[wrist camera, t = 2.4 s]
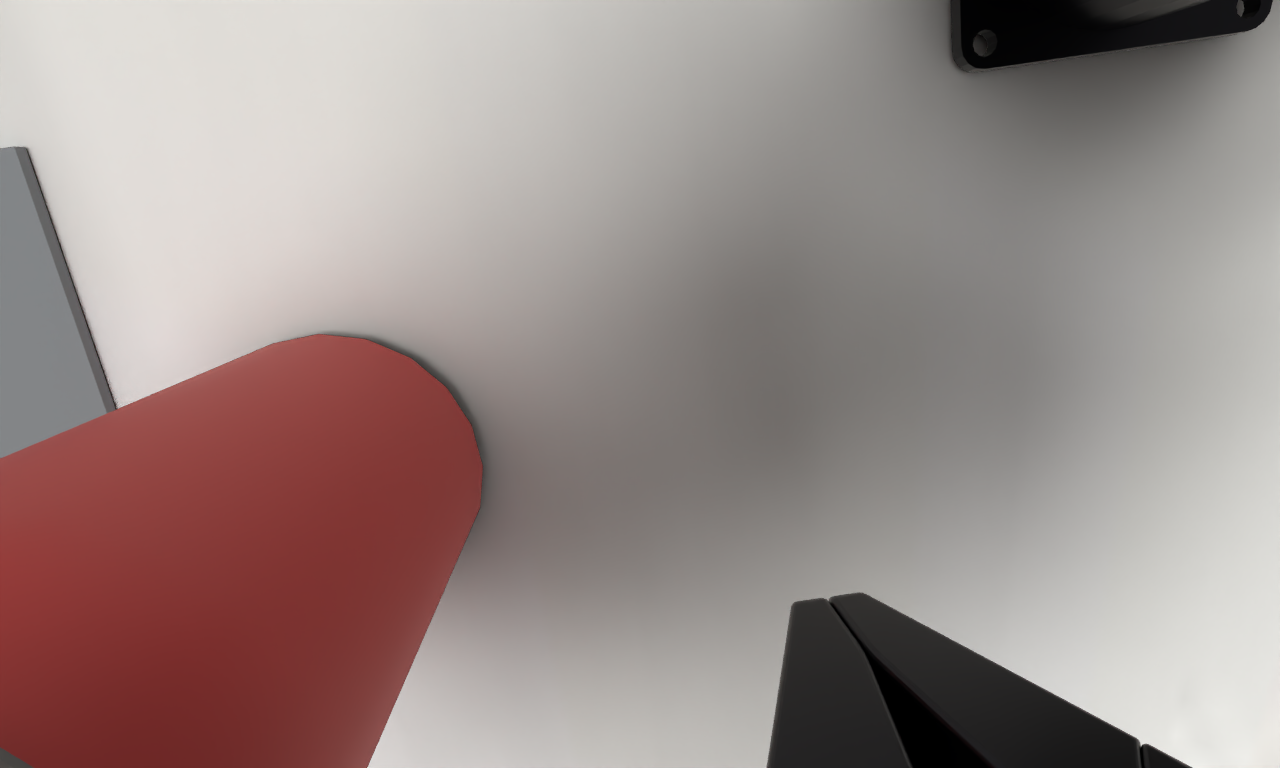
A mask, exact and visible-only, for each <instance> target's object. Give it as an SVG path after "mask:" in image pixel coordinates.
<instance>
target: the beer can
mask: <svg viewBox="0 0 1280 768" xmlns="http://www.w3.org/2000/svg"><path fill="white" fill-rule="evenodd" d="M482 473H483V465H482V461H481V458H480V454H479V450H478V447H477V443H476V439H475V436H474V432H473V428H472V425H471V424H470V422H469V421H468V419H467V418H466V416H465V415H464V413H463V412H462V410H461V409H460V407H459V405H458V404H457V402H456V401H455V399H454V398H453V396H452V395H451V393H450V392H449V390H448V389H447V388H446V387H445V386H444V385H443V384H442V383H440V382H439V381H438V380H437V379H436V378H434V377H433V376H432V375H431V374H430V373H428V372H427V371H426V370H425V369H423V368H422V367H421V366H420V365H419V364H417V363H416V362H415V361H414V360H413V359H411V358H410V357H407V356H405V355H403V354H400V353H398V352H395V351H393V350H391V349H388V348H386V347H384V346H381V345H379V344H377V343H374V342H372V341H369V340H367V339H360V338H351V337H341V336H332V335H323V334H317V335H312V336H307V337H302V338H297V339H292V340H287V341H282V342H278V343H273V344H271V345H268V346H266V347H264V348H261V349H259V350H256V351H254V352H252V353H249V354H247V355H245V356H242V357H240V358H237V359H235V360H233V361H230V362H228V363H226V364H223V365H221V366H218V367H216V368H214V369H211V370H209V371H207V372H204V373H202V374H200V375H197V376H195V377H192V378H190V379H188V380H185V381H183V382H181V383H178V384H176V385H173V386H171V387H169V388H166V389H164V390H162V391H159V392H157V393H154V394H152V395H150V396H147V397H145V398H143V399H140V400H138V401H136V402H133V403H131V404H128V405H126V406H124V407H121V408H119V409H117V410H114V411H112V412H109V413H107V414H105V415H102V416H100V417H98V418H95V419H93V420H90V421H88V422H86V423H83V424H81V425H79V426H76V427H74V428H72V429H69V430H67V431H64V432H62V433H60V434H57V435H55V436H53V437H50V438H48V439H45V440H43V441H41V442H38V443H36V444H34V445H31V446H29V447H26V448H24V449H22V450H19V451H17V452H15V453H12V454H10V455H8V456H5V457H3V458H0V768H367V767H368V765H369V762H370V760H371V758H372V755H373V753H374V751H375V749H376V746H377V744H378V742H379V739H380V737H381V735H382V732H383V730H384V728H385V725H386V723H387V721H388V719H389V716H390V714H391V712H392V709H393V707H394V705H395V702H396V700H397V698H398V695H399V693H400V691H401V689H402V686H403V684H404V682H405V679H406V677H407V675H408V672H409V670H410V668H411V666H412V663H413V661H414V659H415V656H416V654H417V652H418V649H419V647H420V645H421V642H422V640H423V638H424V636H425V633H426V631H427V629H428V626H429V624H430V622H431V619H432V617H433V615H434V612H435V610H436V608H437V606H438V603H439V601H440V599H441V596H442V594H443V592H444V589H445V587H446V585H447V583H448V580H449V578H450V576H451V573H452V571H453V569H454V566H455V564H456V562H457V559H458V557H459V555H460V553H461V550H462V548H463V546H464V543H465V541H466V539H467V536H468V534H469V532H470V529H471V527H472V525H473V523H474V520H475V518H476V516H477V513H478V511H479V509H480V502H481V487H482Z"/></svg>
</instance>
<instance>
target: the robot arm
mask: <svg viewBox="0 0 1280 768" xmlns="http://www.w3.org/2000/svg"><path fill="white" fill-rule="evenodd" d="M1242 1H1243V4H1244V11H1243V14H1242V16H1241V17H1240V16H1239V15H1238V14H1237V9H1236V5H1237V2H1238V0H951V24H952V52H953V57H954V60H955V62H956V63H957V65H958V66H959V67H960V68H961V69H963V70H965V71H967V72H982V71H989V70H996V69H1003V68H1010V67H1017V66H1024V65H1031V64H1037V63H1044V62H1051V61H1058V60H1065V59H1072V58H1079V57H1086V56H1093V55H1100V54H1107V53H1113V52H1120V51H1127V50H1134V49H1141V48H1148V47H1155V46H1162V45H1169V44H1176V43H1183V42H1190V41H1196V40H1203V39H1210V38H1217V37H1224V36H1231V35H1235V34H1238V33H1242V32H1246V31H1249V30H1252V29H1254V28H1256V27H1258V26H1259V25H1260V24H1261V23H1262V22H1264V20H1265V19H1266V17H1267V16H1268V14H1269V13H1270V9H1271V5H1272V1H1273V0H1242ZM977 34H979V35H982V36H983V37H984V38H985V39H986V41H987V45H988V46H987V50H986V53H985V54H984V56H979V55H978V54H977V53H975V52H974V48H973V41H974V37H975V36H976V35H977ZM767 768H1192V767H1190V766H1188V765H1187V764H1185V763H1183V762H1181V761H1179V760H1177V759H1175V758H1173V757H1171V756H1170V755H1168V754H1166V753H1164V752H1162V751H1160V750H1158V749H1156V748H1155V747H1153V746H1151V745H1149V744H1143V745H1142V746H1141V745H1140V742H1139V740H1138V739H1137V738H1135V737H1133V736H1131V735H1130V734H1128V733H1126V732H1124V731H1122V730H1120V729H1118V728H1116V727H1115V726H1113V725H1111V724H1109V723H1107V722H1105V721H1103V720H1101V719H1100V718H1098V717H1096V716H1094V715H1092V714H1090V713H1088V712H1086V711H1085V710H1083V709H1081V708H1079V707H1077V706H1075V705H1073V704H1071V703H1070V702H1068V701H1066V700H1064V699H1062V698H1060V697H1058V696H1056V695H1054V694H1053V693H1051V692H1049V691H1047V690H1045V689H1043V688H1041V687H1039V686H1038V685H1036V684H1034V683H1032V682H1030V681H1028V680H1026V679H1024V678H1023V677H1021V676H1019V675H1017V674H1015V673H1013V672H1011V671H1009V670H1008V669H1006V668H1004V667H1002V666H1000V665H998V664H996V663H994V662H993V661H991V660H989V659H987V658H985V657H983V656H981V655H979V654H978V653H976V652H974V651H972V650H970V649H968V648H966V647H964V646H962V645H961V644H959V643H957V642H955V641H953V640H951V639H949V638H947V637H946V636H944V635H942V634H940V633H938V632H936V631H934V630H932V629H931V628H929V627H927V626H925V625H923V624H921V623H919V622H917V621H916V620H914V619H912V618H910V617H908V616H906V615H904V614H902V613H901V612H899V611H897V610H895V609H893V608H891V607H889V606H887V605H885V604H884V603H882V602H880V601H878V600H876V599H874V598H872V597H870V596H869V595H867V594H864V593H852V594H845V595H839V596H833V597H831V598H830V599H829V601H827V600H826V599H824V598H818V599H811V600H804V601H797V602H794V603H793V604H792V606H791V612H790V618H789V625H788V631H787V638H786V645H785V651H784V658H783V664H782V671H781V677H780V684H779V690H778V697H777V704H776V710H775V717H774V723H773V730H772V736H771V743H770V750H769V756H768V763H767Z"/></svg>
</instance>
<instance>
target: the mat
mask: <svg viewBox="0 0 1280 768" xmlns="http://www.w3.org/2000/svg"><path fill="white" fill-rule="evenodd" d="M114 410H116V409H115V406H114V403H113V400H112V397H111V394H110V391H109V388H108V385H107V382H106V380H105V377H104V374H103V371H102V368H101V365H100V362H99V359H98V356H97V353H96V351H95V348H94V345H93V342H92V339H91V336H90V333H89V330H88V327H87V324H86V322H85V319H84V316H83V313H82V310H81V307H80V304H79V301H78V298H77V295H76V292H75V290H74V287H73V284H72V281H71V278H70V275H69V272H68V269H67V266H66V263H65V261H64V258H63V255H62V252H61V249H60V246H59V243H58V240H57V237H56V234H55V232H54V229H53V226H52V223H51V220H50V217H49V214H48V211H47V208H46V205H45V202H44V200H43V197H42V194H41V191H40V188H39V185H38V182H37V179H36V176H35V173H34V171H33V168H32V165H31V162H30V159H29V156H28V153H27V150H26V148H24V147H8V148H1V149H0V458H3V457H5V456H8V455H10V454H12V453H15V452H17V451H19V450H22V449H24V448H26V447H29V446H31V445H34V444H36V443H38V442H41V441H43V440H45V439H48V438H50V437H53V436H55V435H57V434H60V433H62V432H64V431H67V430H69V429H72V428H74V427H76V426H79V425H81V424H83V423H86V422H88V421H90V420H93V419H95V418H98V417H100V416H102V415H105V414H107V413H109V412H112V411H114Z"/></svg>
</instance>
